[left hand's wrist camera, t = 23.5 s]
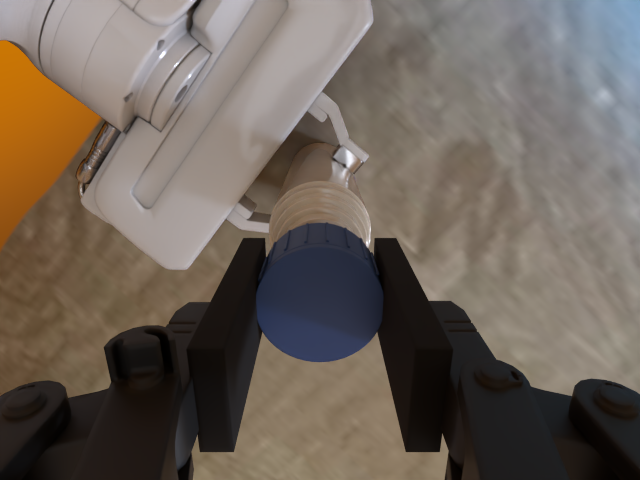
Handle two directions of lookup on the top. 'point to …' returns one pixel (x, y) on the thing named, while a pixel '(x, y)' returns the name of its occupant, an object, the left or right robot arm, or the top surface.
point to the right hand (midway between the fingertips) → (330, 200)
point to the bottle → (319, 195)
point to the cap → (319, 293)
